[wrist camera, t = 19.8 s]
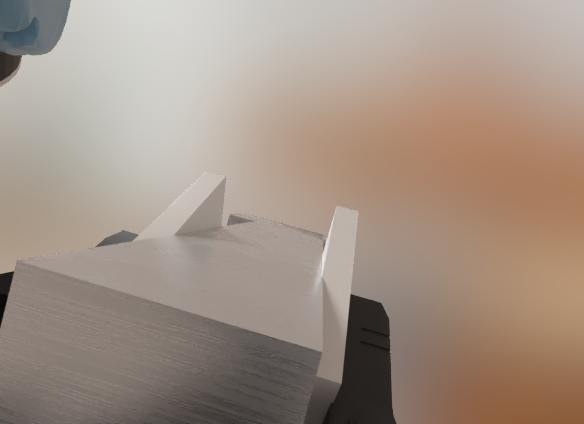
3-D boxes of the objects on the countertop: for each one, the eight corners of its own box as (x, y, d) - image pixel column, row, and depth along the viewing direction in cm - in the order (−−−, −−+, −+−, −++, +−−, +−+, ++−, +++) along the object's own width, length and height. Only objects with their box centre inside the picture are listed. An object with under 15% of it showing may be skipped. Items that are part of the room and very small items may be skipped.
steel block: (-155, 518, 5) (-87, 229, 5) (230, 269, 25) (245, 213, 25) (356, 715, 4) (450, 391, 4) (329, 298, 24) (344, 240, 24)
